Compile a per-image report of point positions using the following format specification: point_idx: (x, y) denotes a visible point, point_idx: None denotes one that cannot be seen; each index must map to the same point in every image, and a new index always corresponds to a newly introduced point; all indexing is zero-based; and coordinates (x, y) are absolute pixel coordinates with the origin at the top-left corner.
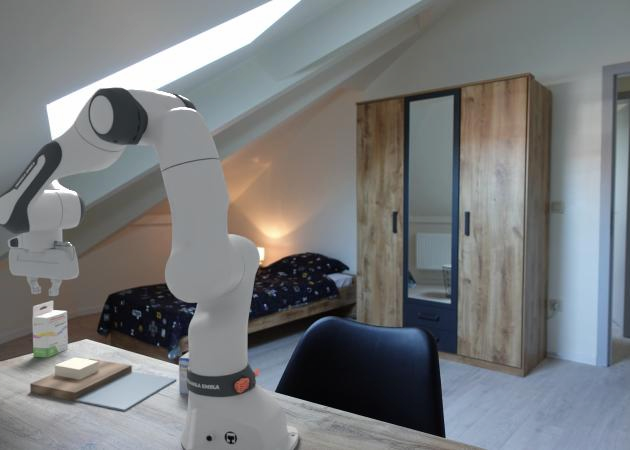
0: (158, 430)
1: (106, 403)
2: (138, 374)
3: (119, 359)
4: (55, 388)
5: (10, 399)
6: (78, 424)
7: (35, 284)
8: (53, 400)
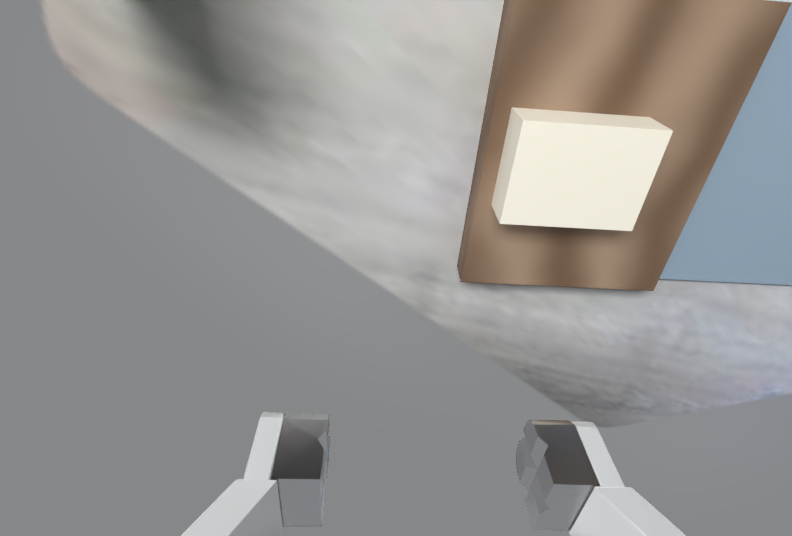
0: None
1: (752, 273)
2: None
3: None
4: (571, 285)
5: (440, 312)
6: (710, 354)
7: (258, 528)
8: None
